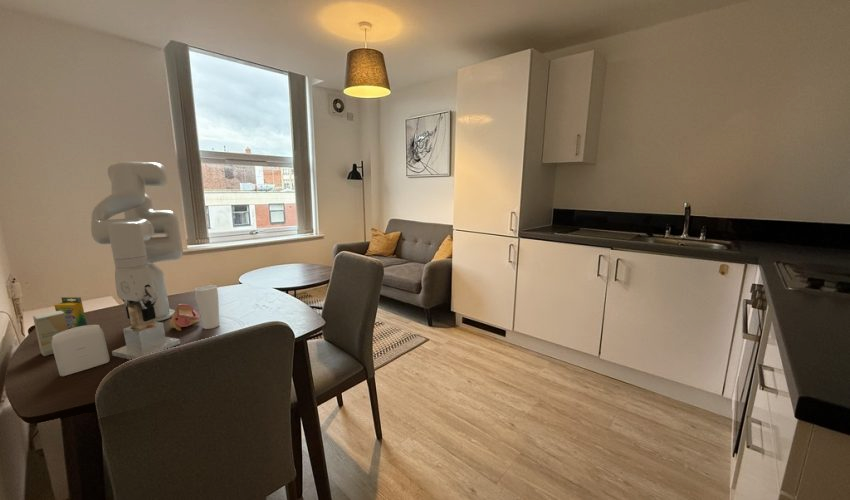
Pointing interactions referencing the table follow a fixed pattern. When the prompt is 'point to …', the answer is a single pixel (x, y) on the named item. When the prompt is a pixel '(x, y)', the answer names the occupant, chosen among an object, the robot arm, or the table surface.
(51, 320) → the skincare box
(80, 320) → the crayon box
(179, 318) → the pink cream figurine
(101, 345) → the photo printer
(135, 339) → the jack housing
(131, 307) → the column
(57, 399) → the table surface
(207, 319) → the drinking glass
